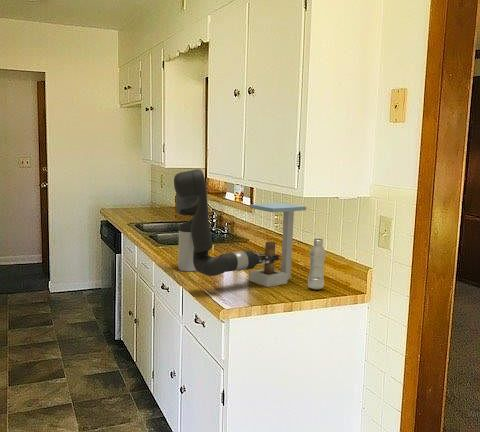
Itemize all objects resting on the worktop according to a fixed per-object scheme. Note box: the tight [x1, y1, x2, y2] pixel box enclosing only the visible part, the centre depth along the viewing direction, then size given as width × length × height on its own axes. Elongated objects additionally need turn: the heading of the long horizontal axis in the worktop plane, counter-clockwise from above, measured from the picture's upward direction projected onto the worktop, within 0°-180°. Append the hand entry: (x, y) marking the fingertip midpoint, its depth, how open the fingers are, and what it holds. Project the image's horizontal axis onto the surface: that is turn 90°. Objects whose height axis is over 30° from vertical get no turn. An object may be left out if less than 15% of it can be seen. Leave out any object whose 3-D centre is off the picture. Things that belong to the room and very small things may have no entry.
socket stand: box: [249, 202, 307, 288], centre depth 215 cm, size 18×14×32 cm
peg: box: [263, 241, 276, 275], centre depth 214 cm, size 4×4×14 cm
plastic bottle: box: [307, 238, 327, 290], centre depth 206 cm, size 6×7×20 cm
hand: (274, 256), depth 215 cm, fingers closed on peg, 3 cm apart
